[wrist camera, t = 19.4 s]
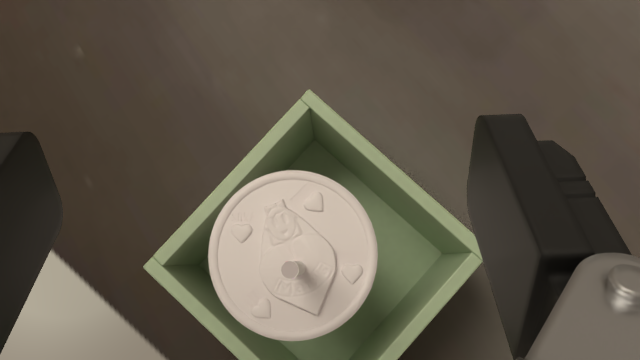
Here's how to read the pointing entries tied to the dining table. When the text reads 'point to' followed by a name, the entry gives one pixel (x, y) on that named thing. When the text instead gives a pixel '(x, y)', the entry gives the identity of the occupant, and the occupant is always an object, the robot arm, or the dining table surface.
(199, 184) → the dining table surface
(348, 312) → the smoothie
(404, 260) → the bin
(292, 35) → the dining table surface
